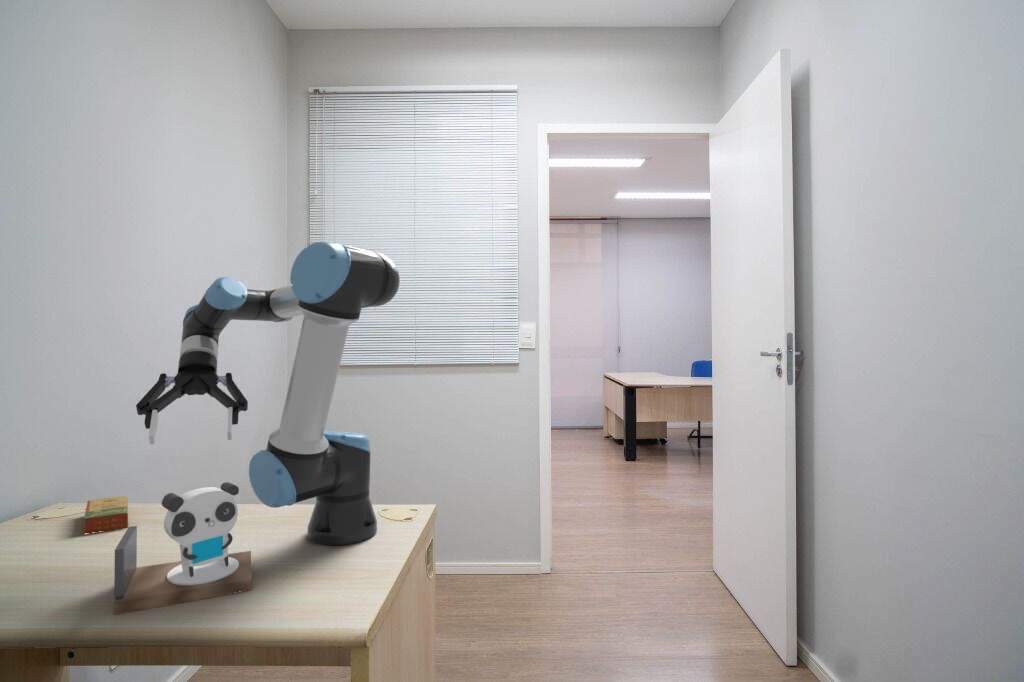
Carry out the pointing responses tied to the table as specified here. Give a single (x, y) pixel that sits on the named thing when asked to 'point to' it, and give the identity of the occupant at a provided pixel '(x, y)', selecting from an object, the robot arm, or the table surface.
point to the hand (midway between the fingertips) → (191, 438)
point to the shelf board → (179, 586)
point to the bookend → (125, 562)
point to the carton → (106, 514)
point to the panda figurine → (202, 533)
